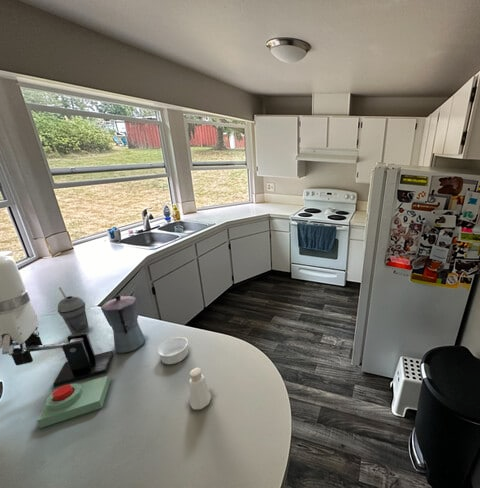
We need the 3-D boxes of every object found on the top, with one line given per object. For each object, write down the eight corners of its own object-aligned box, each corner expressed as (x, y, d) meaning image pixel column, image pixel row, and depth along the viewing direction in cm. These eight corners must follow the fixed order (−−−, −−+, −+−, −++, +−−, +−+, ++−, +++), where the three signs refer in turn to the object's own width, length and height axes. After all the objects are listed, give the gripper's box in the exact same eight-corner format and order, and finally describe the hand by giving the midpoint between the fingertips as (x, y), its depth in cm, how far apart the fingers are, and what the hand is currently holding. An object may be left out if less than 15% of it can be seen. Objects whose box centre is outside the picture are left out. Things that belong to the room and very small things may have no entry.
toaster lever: (21, 359, 69) (20, 352, 69) (30, 347, 73) (29, 340, 73) (80, 351, 75) (79, 344, 75) (85, 341, 79) (85, 334, 79)
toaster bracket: (54, 387, 73) (40, 355, 69) (66, 365, 81) (54, 335, 77) (106, 372, 79) (95, 342, 75) (113, 353, 86) (104, 324, 82)
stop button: (51, 403, 64) (49, 398, 64) (57, 392, 67) (55, 387, 67) (70, 398, 66) (68, 393, 65) (75, 387, 69) (73, 382, 68)
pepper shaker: (200, 413, 68) (195, 383, 64) (185, 406, 69) (179, 376, 65) (215, 396, 72) (211, 367, 69) (201, 390, 74) (195, 361, 70)
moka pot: (142, 328, 98) (131, 284, 91) (152, 350, 88) (139, 301, 81) (111, 340, 92) (96, 293, 85) (118, 364, 82) (101, 313, 75)
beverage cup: (92, 335, 94) (76, 288, 87) (65, 342, 90) (46, 294, 83) (95, 324, 100) (80, 279, 93) (70, 330, 96) (52, 284, 89)
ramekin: (174, 369, 81) (171, 358, 79) (153, 361, 83) (151, 351, 82) (195, 350, 89) (193, 340, 87) (176, 344, 91) (174, 334, 90)
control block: (40, 428, 63) (34, 415, 61) (56, 398, 70) (50, 386, 68) (101, 408, 68) (97, 395, 66) (110, 382, 75) (106, 371, 74)
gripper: (6, 289, 71) (27, 340, 77) (-39, 324, 57) (-9, 383, 63) (42, 284, 75) (60, 334, 81) (8, 316, 60) (33, 373, 67)
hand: (30, 355), depth 72 cm, fingers closed on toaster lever, 5 cm apart
